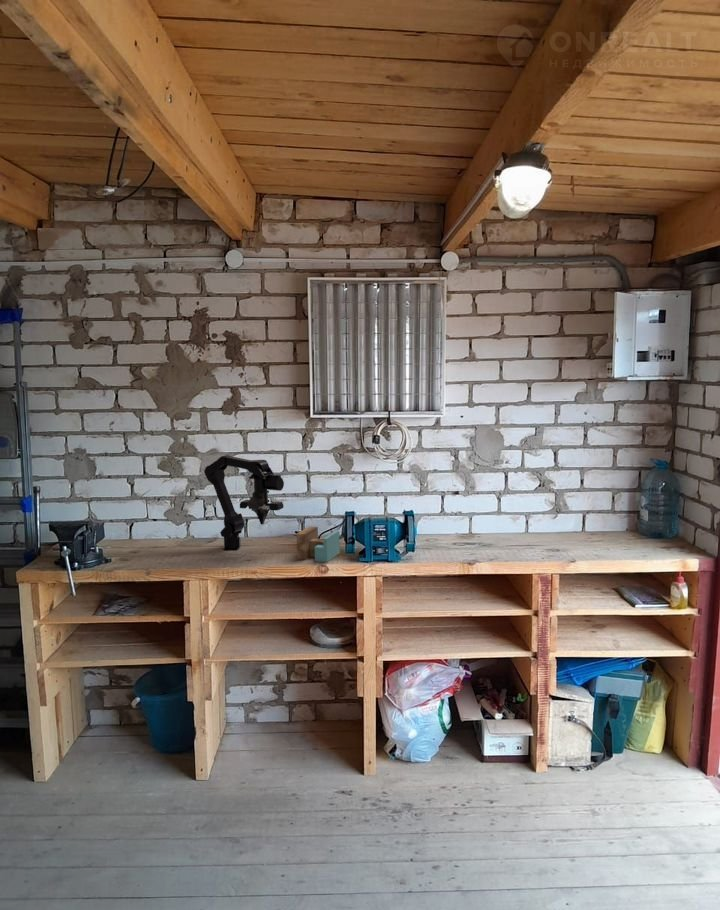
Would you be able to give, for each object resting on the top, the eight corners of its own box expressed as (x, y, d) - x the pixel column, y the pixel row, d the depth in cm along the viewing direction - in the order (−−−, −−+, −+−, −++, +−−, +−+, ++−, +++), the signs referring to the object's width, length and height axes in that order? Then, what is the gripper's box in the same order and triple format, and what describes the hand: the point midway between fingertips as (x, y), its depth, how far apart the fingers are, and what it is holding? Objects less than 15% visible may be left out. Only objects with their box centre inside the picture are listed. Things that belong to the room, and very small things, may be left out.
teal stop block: (314, 561, 264) (314, 537, 263) (328, 551, 277) (327, 529, 276) (327, 562, 262) (326, 538, 261) (339, 552, 276) (339, 530, 274)
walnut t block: (297, 559, 268) (296, 533, 266) (310, 550, 280) (309, 526, 278) (323, 561, 264) (322, 535, 262) (335, 552, 276) (334, 528, 274)
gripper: (232, 491, 270) (233, 527, 272) (271, 493, 264) (272, 530, 266) (245, 486, 281) (247, 521, 283) (283, 488, 274) (284, 524, 276)
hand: (262, 524), depth 277 cm, fingers closed
